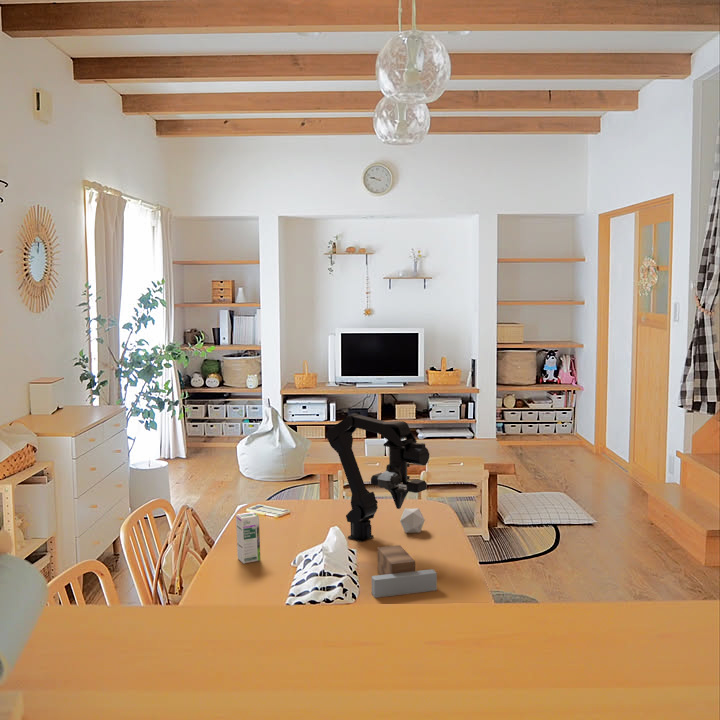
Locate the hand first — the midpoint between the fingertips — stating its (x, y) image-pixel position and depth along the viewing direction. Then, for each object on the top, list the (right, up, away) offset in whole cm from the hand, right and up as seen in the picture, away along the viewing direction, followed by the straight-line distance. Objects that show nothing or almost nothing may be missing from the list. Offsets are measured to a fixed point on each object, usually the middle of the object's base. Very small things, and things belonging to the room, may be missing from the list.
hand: (398, 508), depth 247 cm
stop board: (0, -17, -34) cm, 38 cm away
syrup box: (-47, -15, -8) cm, 50 cm away
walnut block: (-2, -16, -26) cm, 30 cm away
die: (+6, -12, +18) cm, 22 cm away
